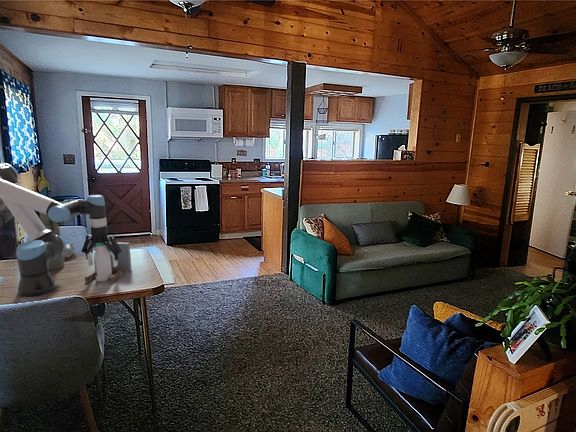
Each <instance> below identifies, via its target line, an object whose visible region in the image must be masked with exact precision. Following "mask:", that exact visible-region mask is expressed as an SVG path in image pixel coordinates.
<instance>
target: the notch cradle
mask: <svg viewBox="0 0 576 432" xmlns="http://www.w3.org/2000/svg"><path fill="white" fill-rule="evenodd" d="M124 275H125V272H124V269H112V276H110V277H109V278H108V280H107V281H108V284H110V285H112V284H113V283H114V282H117V281H118V280H119V279H120V278H122V277H123V276H124ZM93 280H96V275H95V270H93V271H92V272H90V273H89V274H87V275H86V276H84V283H86V284H88V283H90V282H92V281H93Z"/></svg>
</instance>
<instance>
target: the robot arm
mask: <svg viewBox="0 0 576 432" xmlns="http://www.w3.org/2000/svg"><path fill="white" fill-rule="evenodd" d="M18 177H19V173H18V171H17V169H16V168H15V167H14V166H12V164H9V163H6V162H0V199H1V200H2V202H3V203H4V204H5V206H6V208H7V209H8V210H9V212H11V214H12V216H13V217H14V219H15V220H16V221H17V223H18V224H19V225H20V227H21V228H22V230H23V232H24V233H25V234H26V235H27V236H28V240H27V241H25V242H22V243H20V244H19V245H18V246H17V247H16V258H17V264H18V266H17V267H18V271H19V276H20V277H19V282H18V287H17V294H18V296H21V297H35V296H41V295H45V294H47V293H48V294H49V293H50V292H52V291H53V290H55V289H56V287H57V286H56V282H55V280H54V279H53V277H52V275H51V273H50V270H49V267H48V263H49V262H51V261H53V260H54V259H57V258H59V257H60V256H61V255H62V254H63V253H64V251H65V249H66V244H67V243H66V241H65V239H64V237H62V236H61V235H60V236H58V235H55V234H54V233H53V231H52V230H48V229H46V227H45V226H44V224H43V223H42V221H41V220H40V216H39V215H38V214H37V213H36V212H38V213H39V214H40V213H43V214H46V215H48V216H49V218H50V219H51V220H52V221H54V222H57V223H61V222H66V221H67V220H69V219H71V218H74V217H76V216H80V215H81V216H83V215H85V216H86V215H88V217H89V218H88V219H89V226H90V233H88V234H86V235H85V241H84V244H83V246H82V248H81V253H84V254H85V259H86V260H87V264H88V266H87V267H91V266H93V264H94V260H93V254H92V252H91V251H92V250H93V248H94V247H96V244H95V243H103V244H104V245H106V246H107V247H108V248H109V250H110V251H111V252H112V253H113V255H112V257H113V267H116V266H118V263H117V260H118V254H119V253H121V252H122V251H121V249H120V247H119V246H118V244H117V241H116V239H115V234H112V235H108V232H109V231H108V225H107V224H108V222H107V214H106V203H105V197H104V195H101V194H90V195H88V196H87V197H86V199H71V198H70V199H64V200H63V201H62V202H60V201H57V200H55V199H52V198H49V197H48V196H45V195H43V194H40V193H38V192H35V191H32V190H30V189H27V188H25V187H22V186H20V182H19V181H18V179H19V178H18ZM91 240H92V241H91ZM110 242H111V243H110ZM90 243H91V244H90Z"/></svg>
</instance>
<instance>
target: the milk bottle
mask: <svg viewBox="0 0 576 432" xmlns="http://www.w3.org/2000/svg"><path fill="white" fill-rule="evenodd" d="M105 246H106V245H104V244H103V243H95V248H96V249H95V253H94V256H93V264H94V271H95V275H96V278H95V280H96V282H107V281H108V278H109V277H110V276H112V268H111V259H110V255H109V253H108V251H107V250H106V247H105Z"/></svg>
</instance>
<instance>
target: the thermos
mask: <svg viewBox="0 0 576 432" xmlns="http://www.w3.org/2000/svg"><path fill="white" fill-rule="evenodd" d="M39 218H40V220H41V221H42V223H43V224H44V226H45V227H46V229H48V230H52V231H53V233H54V234H55V235H58V236H61V232H60V226H59V224H58V222H54V221H52V220H51V219H50V218H49V216H48V215H46V214H43V213H40V212H39ZM64 263H65V259H64V258H63V254H62V255H61V256H60V257H59V258H57V259H54V260H53V261H51V262H49V263H48V267H49V271H56V270H60V269H64V267H65V264H64Z"/></svg>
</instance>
